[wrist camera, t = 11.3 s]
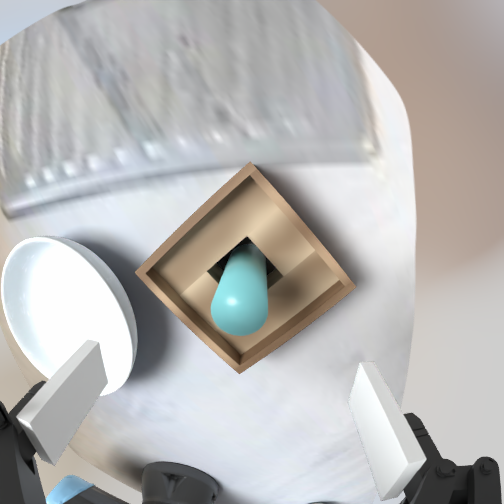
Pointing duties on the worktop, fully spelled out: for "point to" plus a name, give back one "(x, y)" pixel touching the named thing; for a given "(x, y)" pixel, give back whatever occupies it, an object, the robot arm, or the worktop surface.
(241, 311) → the peg
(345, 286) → the bore box
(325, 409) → the worktop surface
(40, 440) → the robot arm
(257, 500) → the worktop surface
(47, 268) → the serving bowl
